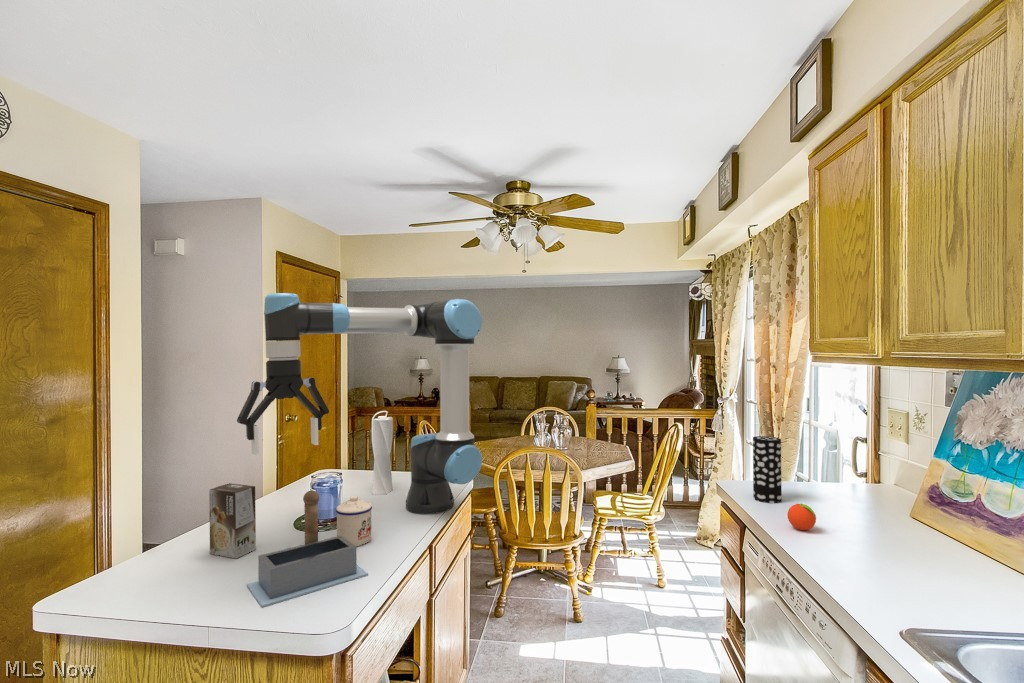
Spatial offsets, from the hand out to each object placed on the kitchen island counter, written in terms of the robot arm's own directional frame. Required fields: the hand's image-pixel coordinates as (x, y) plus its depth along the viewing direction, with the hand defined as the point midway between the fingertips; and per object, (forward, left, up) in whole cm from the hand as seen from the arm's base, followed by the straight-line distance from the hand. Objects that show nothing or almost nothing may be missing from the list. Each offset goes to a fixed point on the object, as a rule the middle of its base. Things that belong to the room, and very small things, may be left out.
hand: (286, 448), depth 123 cm
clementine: (-115, +70, -27) cm, 137 cm away
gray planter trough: (-1, +13, -27) cm, 29 cm away
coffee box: (+8, -16, -27) cm, 32 cm away
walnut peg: (-5, +1, -27) cm, 27 cm away
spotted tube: (-136, +51, -27) cm, 148 cm away
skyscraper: (-44, -40, -27) cm, 65 cm away
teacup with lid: (-19, -4, -27) cm, 33 cm away
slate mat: (-1, +13, -27) cm, 30 cm away
